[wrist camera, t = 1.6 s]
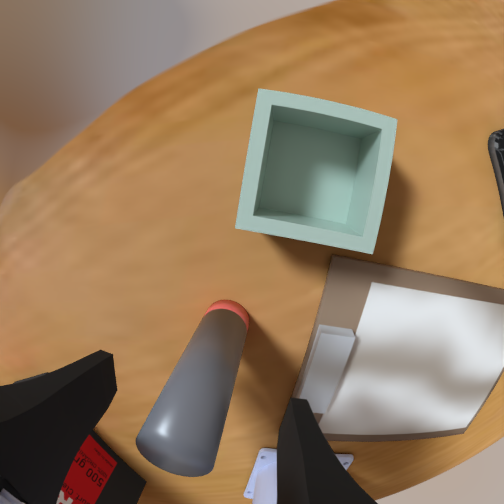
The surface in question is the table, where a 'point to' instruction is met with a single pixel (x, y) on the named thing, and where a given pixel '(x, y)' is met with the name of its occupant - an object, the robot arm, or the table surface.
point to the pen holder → (316, 171)
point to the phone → (498, 160)
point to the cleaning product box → (98, 475)
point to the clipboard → (400, 353)
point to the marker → (197, 395)
